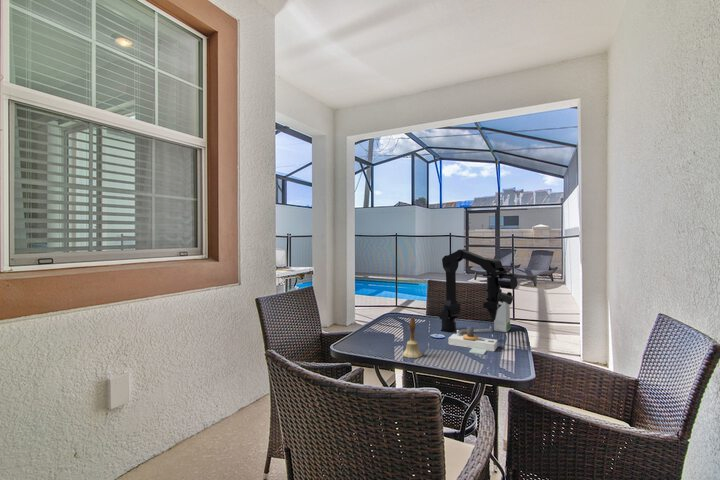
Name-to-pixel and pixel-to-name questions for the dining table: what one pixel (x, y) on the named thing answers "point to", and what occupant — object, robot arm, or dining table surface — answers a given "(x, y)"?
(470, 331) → the plug
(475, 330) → the clip
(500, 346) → the dining table surface
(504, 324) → the skincare box
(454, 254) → the robot arm
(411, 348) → the hand bell
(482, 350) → the mat
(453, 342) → the power strip
